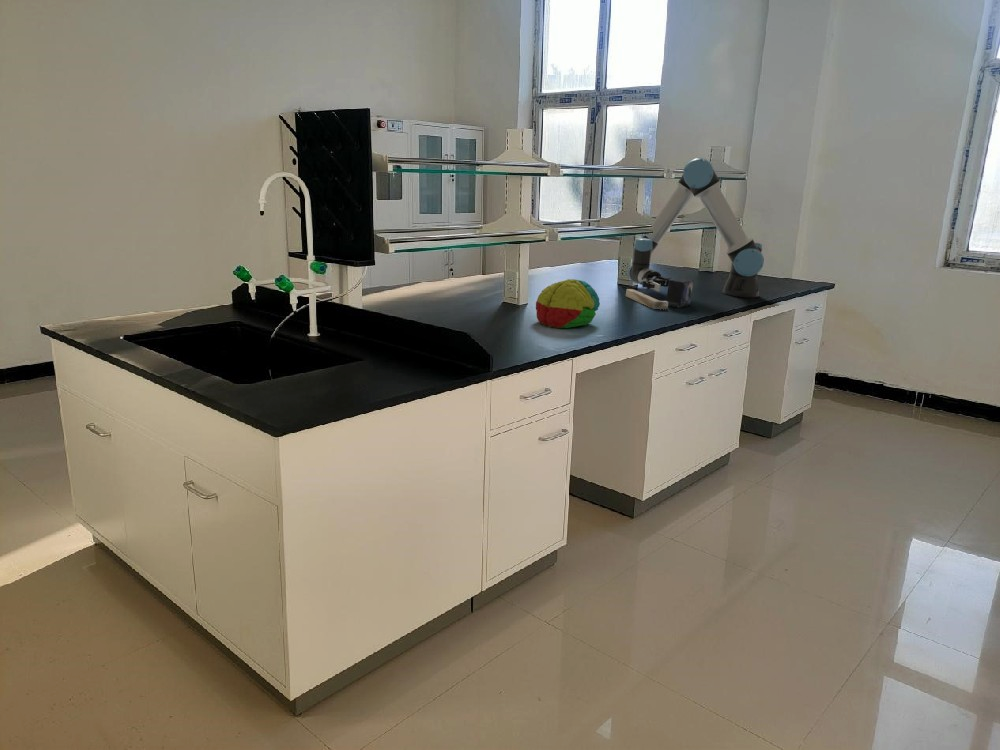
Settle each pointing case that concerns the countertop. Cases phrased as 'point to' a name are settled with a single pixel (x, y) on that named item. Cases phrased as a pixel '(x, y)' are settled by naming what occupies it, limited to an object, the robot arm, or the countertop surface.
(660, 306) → the bar
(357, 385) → the countertop surface
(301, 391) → the countertop surface
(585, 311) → the brain model
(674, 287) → the small box
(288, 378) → the countertop surface
